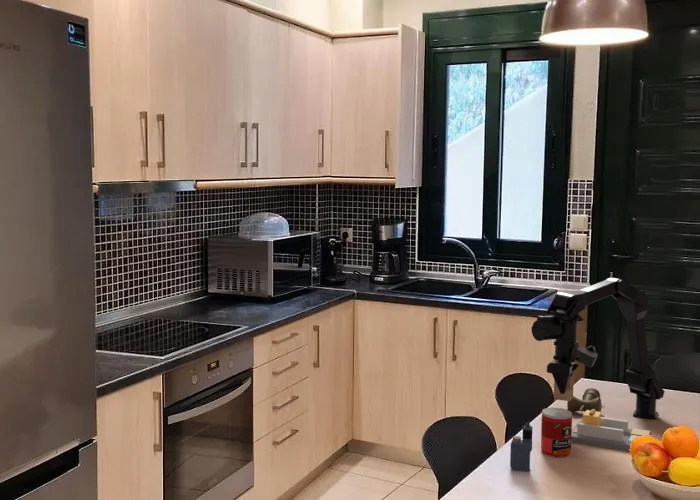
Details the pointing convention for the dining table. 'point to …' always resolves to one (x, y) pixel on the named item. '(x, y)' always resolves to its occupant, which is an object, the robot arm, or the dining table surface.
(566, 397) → the walnut block
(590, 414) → the knob
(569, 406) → the kendama
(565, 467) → the dining table surface
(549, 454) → the canned food
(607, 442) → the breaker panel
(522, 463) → the vaping device
